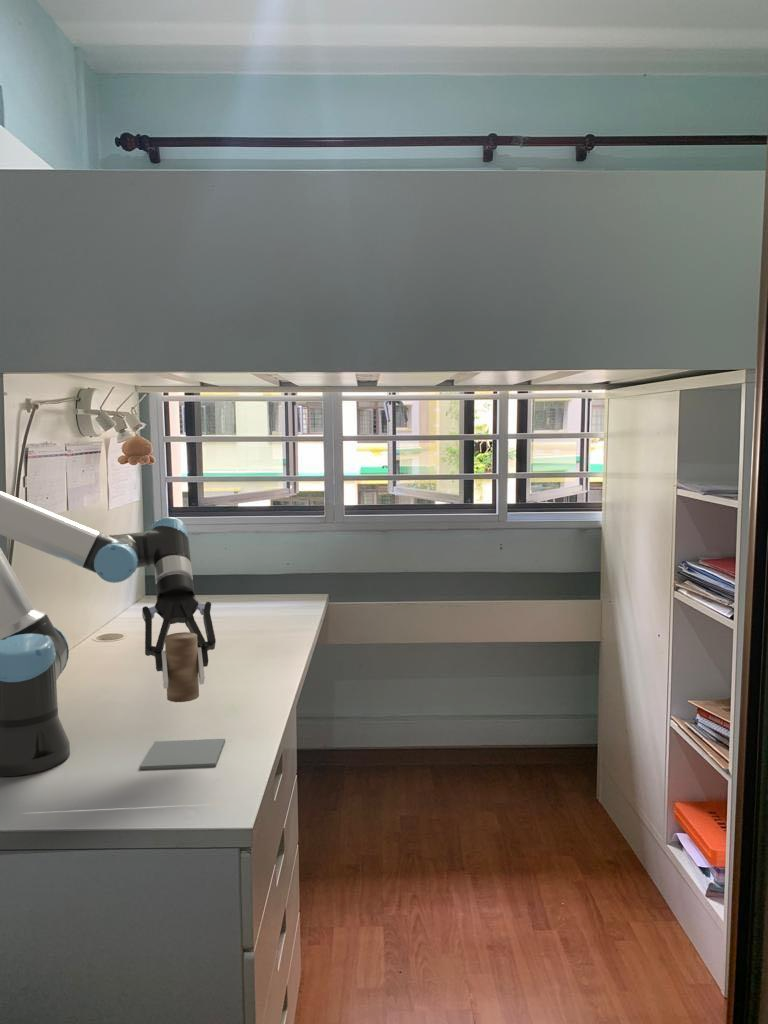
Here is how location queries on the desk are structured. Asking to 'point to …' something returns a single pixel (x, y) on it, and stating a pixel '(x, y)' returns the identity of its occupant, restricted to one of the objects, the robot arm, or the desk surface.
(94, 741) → the desk surface
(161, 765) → the slate mat
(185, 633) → the walnut canister
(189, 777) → the desk surface
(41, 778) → the desk surface
